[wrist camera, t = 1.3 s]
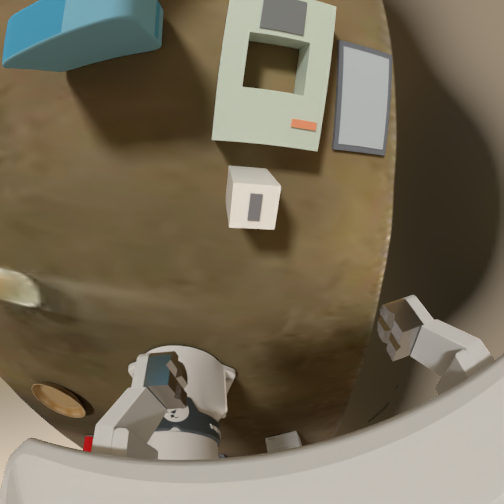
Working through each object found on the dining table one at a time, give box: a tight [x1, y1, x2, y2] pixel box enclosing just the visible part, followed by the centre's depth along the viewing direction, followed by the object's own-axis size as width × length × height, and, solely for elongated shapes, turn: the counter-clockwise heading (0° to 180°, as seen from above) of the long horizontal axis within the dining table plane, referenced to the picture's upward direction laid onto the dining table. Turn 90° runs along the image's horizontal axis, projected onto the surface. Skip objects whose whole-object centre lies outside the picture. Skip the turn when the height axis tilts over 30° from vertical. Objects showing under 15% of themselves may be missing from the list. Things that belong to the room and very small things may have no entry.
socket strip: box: [212, 0, 336, 152], centre depth 21 cm, size 16×10×4 cm, turn 173°
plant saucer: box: [32, 382, 85, 418], centre depth 45 cm, size 15×15×3 cm
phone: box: [332, 40, 392, 156], centre depth 25 cm, size 13×7×1 cm, turn 178°
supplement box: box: [265, 431, 302, 453], centre depth 59 cm, size 10×9×17 cm
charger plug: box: [226, 165, 281, 230], centre depth 26 cm, size 4×4×7 cm
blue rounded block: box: [2, 0, 164, 72], centre depth 14 cm, size 12×4×12 cm, turn 89°
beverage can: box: [83, 435, 94, 452], centre depth 54 cm, size 6×6×12 cm
